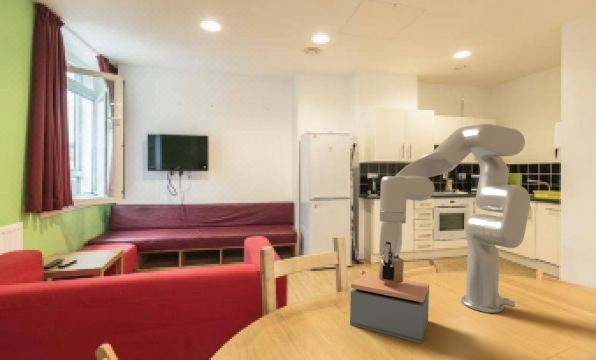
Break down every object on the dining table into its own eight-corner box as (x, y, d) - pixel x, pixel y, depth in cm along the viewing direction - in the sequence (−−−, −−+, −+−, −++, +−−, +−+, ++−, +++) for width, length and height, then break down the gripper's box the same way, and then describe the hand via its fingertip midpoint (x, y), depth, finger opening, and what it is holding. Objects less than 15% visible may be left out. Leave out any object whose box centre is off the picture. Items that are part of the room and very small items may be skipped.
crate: (428, 320, 95) (429, 288, 95) (421, 343, 82) (423, 306, 82) (364, 306, 105) (365, 276, 105) (349, 324, 92) (350, 291, 91)
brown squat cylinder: (404, 277, 95) (405, 258, 94) (400, 284, 88) (401, 263, 88) (381, 273, 98) (382, 254, 98) (376, 280, 92) (376, 260, 92)
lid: (429, 287, 95) (429, 283, 95) (423, 302, 82) (423, 298, 82) (365, 276, 105) (365, 272, 105) (350, 287, 91) (351, 283, 92)
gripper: (386, 213, 102) (384, 266, 103) (372, 219, 87) (370, 282, 87) (410, 215, 99) (408, 270, 99) (400, 222, 83) (398, 287, 84)
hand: (390, 275), depth 93 cm, fingers closed on brown squat cylinder, 7 cm apart
